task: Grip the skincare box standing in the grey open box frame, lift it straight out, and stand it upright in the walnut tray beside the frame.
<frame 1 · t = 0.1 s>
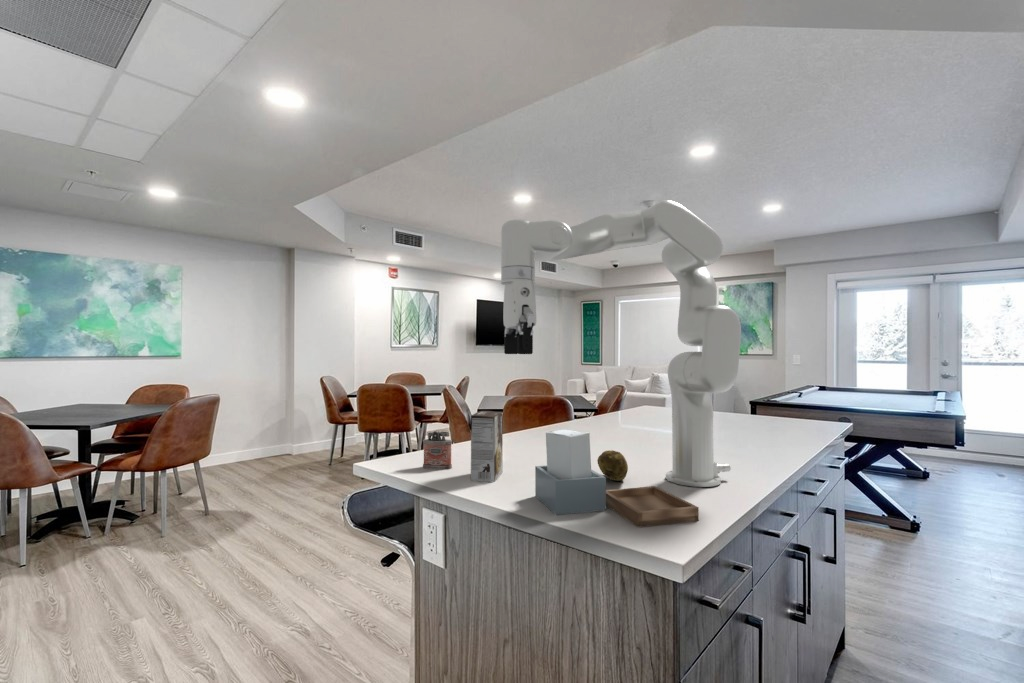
hand: (517, 354, 105), 31 cm above the worktop, fingers open, 9 cm apart
lighter: (437, 468, 129), on the worktop
skincare box: (568, 503, 99), resting in grey open box frame
tray: (647, 511, 94), on the worktop
potato: (613, 481, 116), on the worktop
coffee box: (487, 477, 120), on the worktop
grey open box frame: (568, 502, 99), on the worktop
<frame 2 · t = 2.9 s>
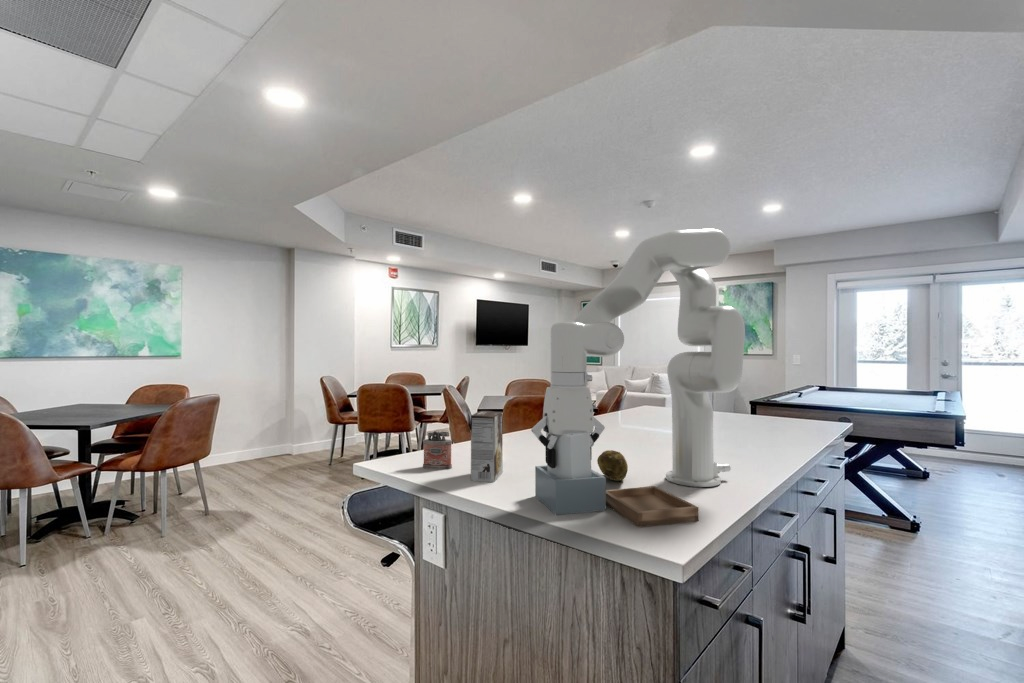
hand: (568, 465, 99), 8 cm above the worktop, fingers closed on skincare box, 7 cm apart
skincare box: (568, 503, 99), resting in grey open box frame, touching gripper
everything else where it was.
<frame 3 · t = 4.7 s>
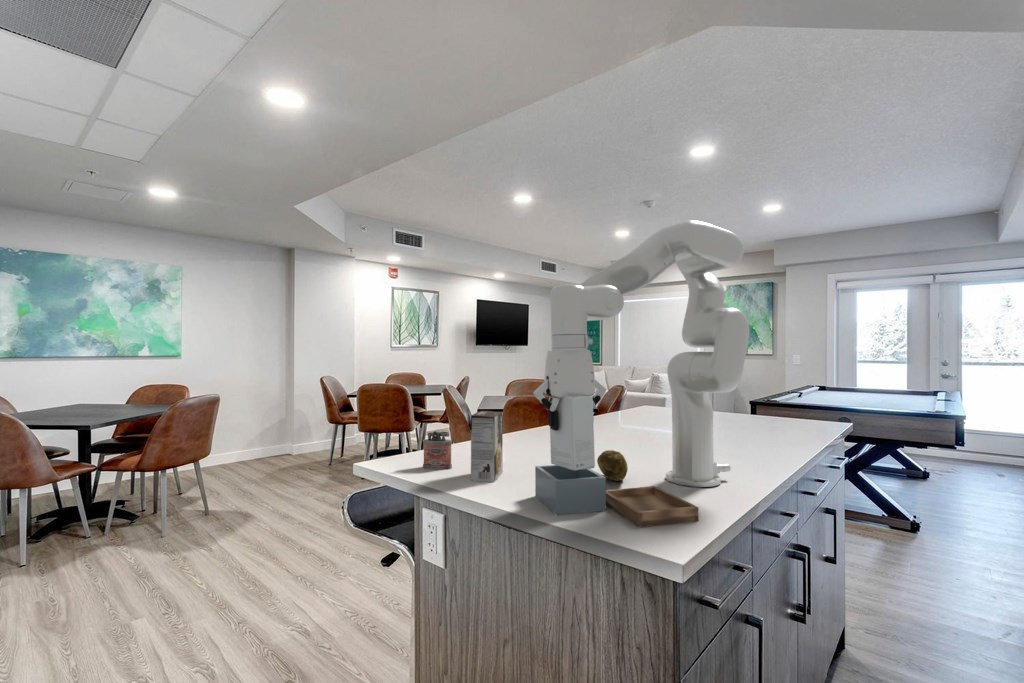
hand: (571, 427, 100), 16 cm above the worktop, fingers closed on skincare box, 6 cm apart
skincare box: (571, 466, 99), point 7 cm above the worktop, touching gripper
everything else where it was.
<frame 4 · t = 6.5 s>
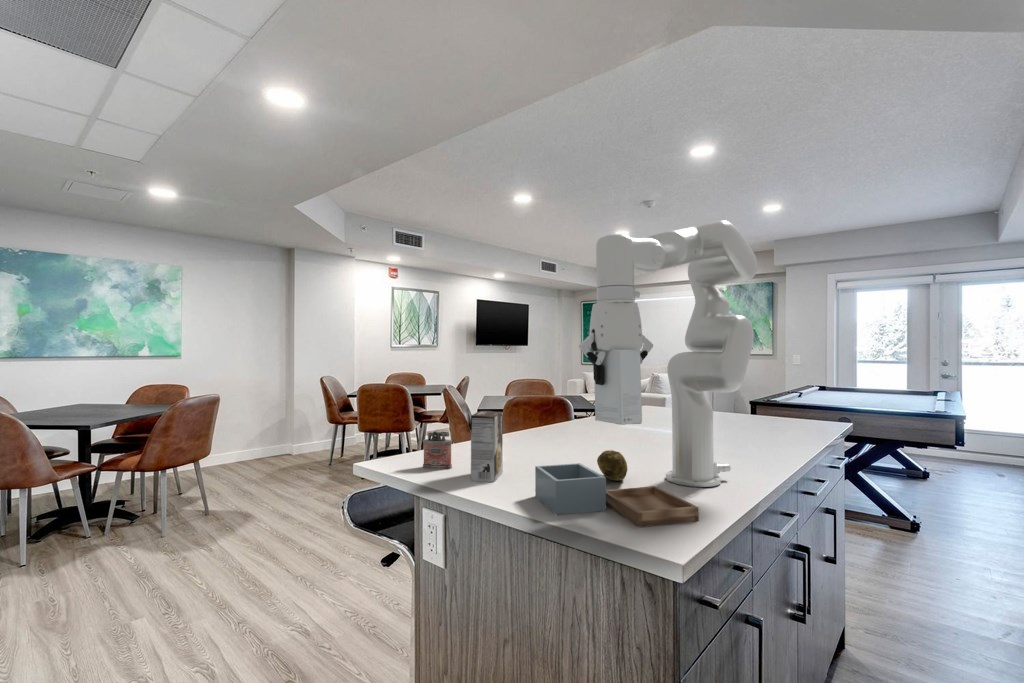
hand: (617, 383, 97), 25 cm above the worktop, fingers closed on skincare box, 6 cm apart
skincare box: (616, 423, 96), point 17 cm above the worktop, touching gripper
everything else where it was.
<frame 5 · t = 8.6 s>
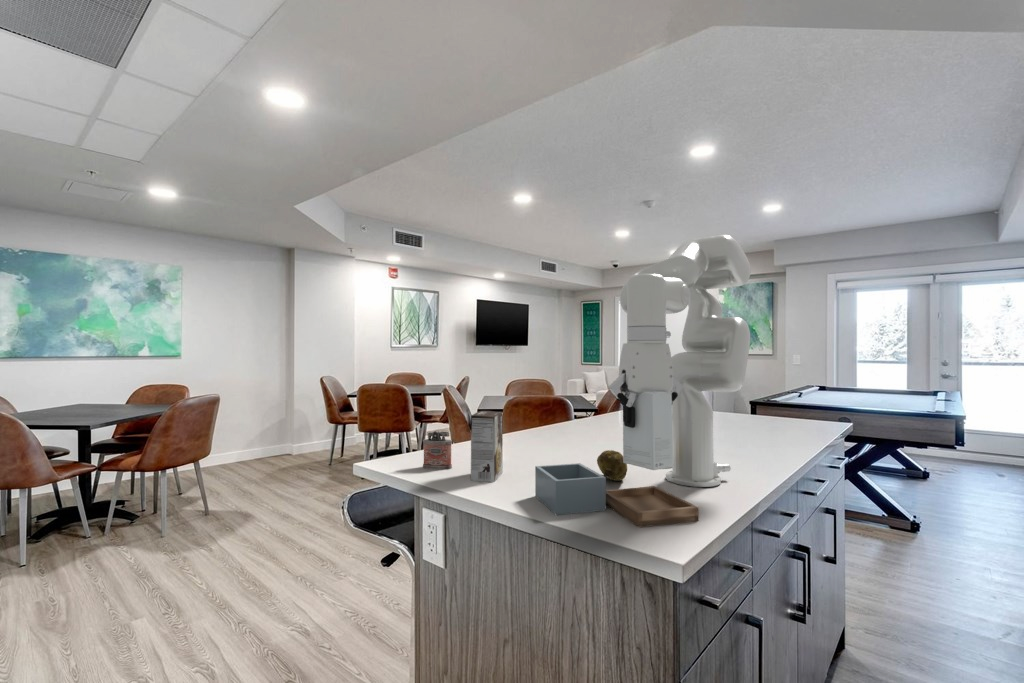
hand: (646, 425, 94), 17 cm above the worktop, fingers closed on skincare box, 6 cm apart
skincare box: (646, 466, 94), point 9 cm above the worktop, touching gripper
everything else where it was.
when the fingers open (11 cm above the worktop, at t = 10.3 s): skincare box drops 2 cm, resting on tray.
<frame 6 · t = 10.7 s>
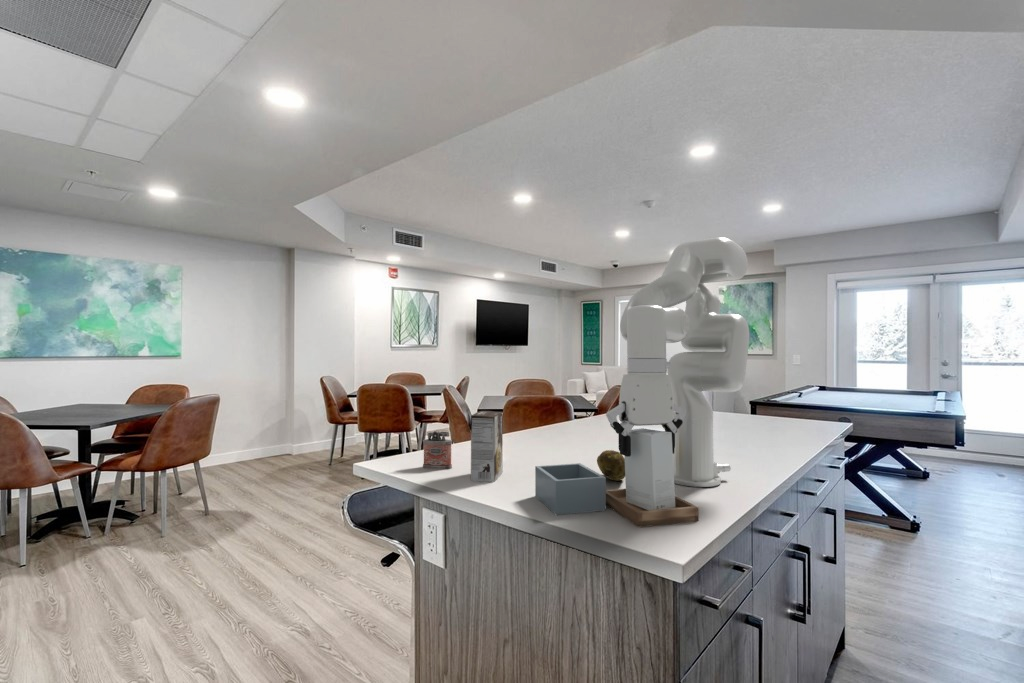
hand: (647, 453, 94), 11 cm above the worktop, fingers open, 9 cm apart
skincare box: (648, 506, 94), point 1 cm above the worktop, touching tray
everything else where it was.
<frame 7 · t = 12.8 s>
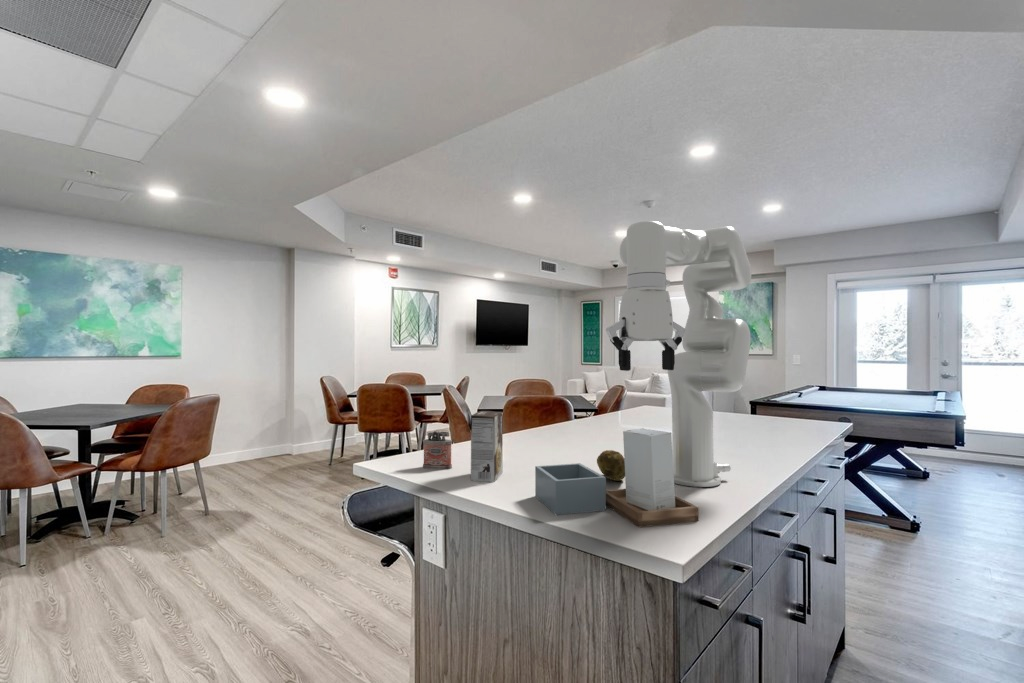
hand: (646, 370, 94), 28 cm above the worktop, fingers open, 9 cm apart
nothing on the worktop moved.
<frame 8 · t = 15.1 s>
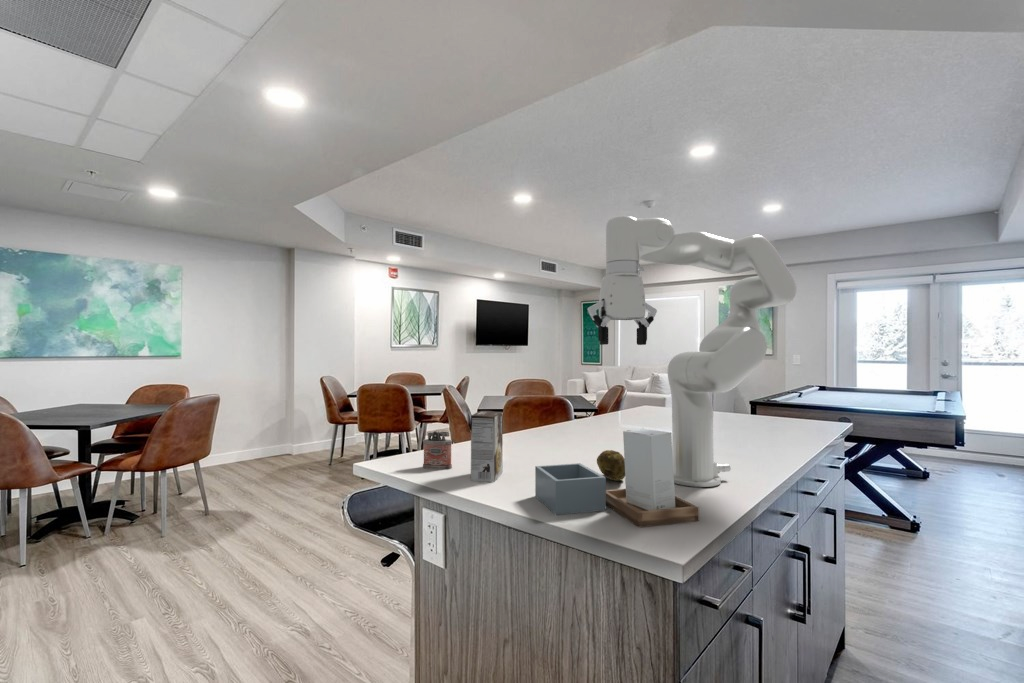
hand: (622, 344, 110), 33 cm above the worktop, fingers open, 9 cm apart
nothing on the worktop moved.
at the end: skincare box inside the target area on the tray (0.3 cm from its centre), point 0.8 cm above the tray's base; skincare box tilted 0°; the gripper is holding nothing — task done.
